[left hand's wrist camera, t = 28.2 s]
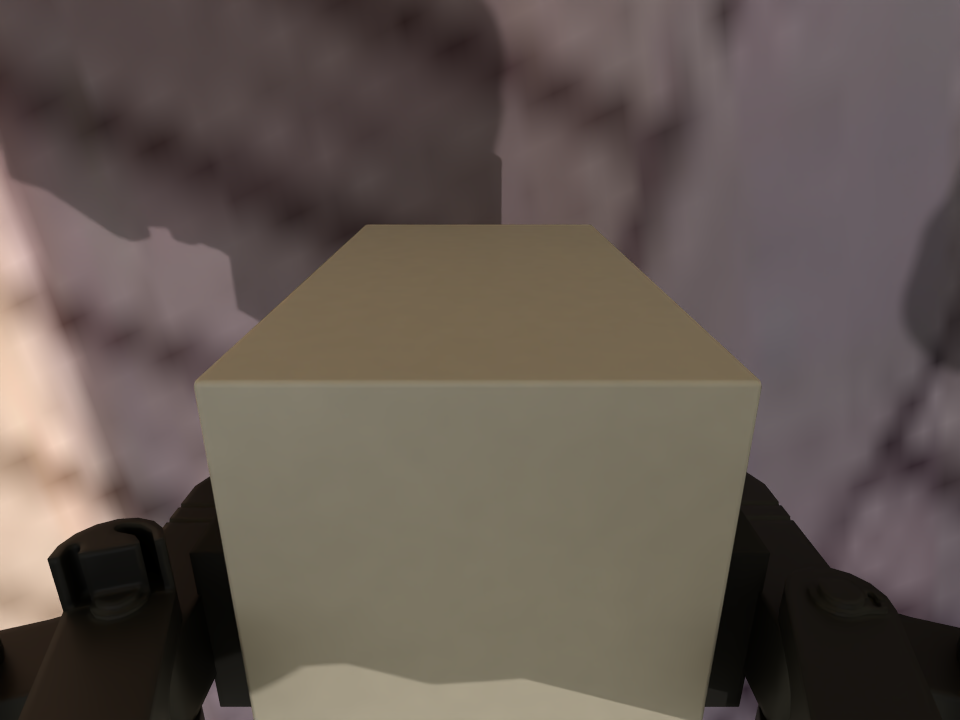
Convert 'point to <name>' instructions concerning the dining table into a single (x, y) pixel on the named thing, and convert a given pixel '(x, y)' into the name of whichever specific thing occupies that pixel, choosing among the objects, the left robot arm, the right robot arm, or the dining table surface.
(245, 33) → the dining table surface
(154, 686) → the left robot arm
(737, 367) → the brick
